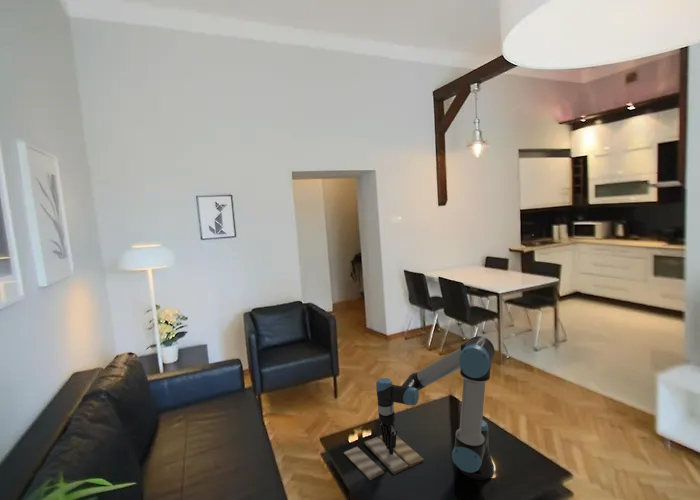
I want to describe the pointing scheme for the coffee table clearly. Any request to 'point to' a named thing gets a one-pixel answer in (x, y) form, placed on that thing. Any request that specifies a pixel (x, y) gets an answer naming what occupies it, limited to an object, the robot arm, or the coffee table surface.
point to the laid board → (406, 453)
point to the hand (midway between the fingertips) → (390, 459)
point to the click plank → (380, 451)
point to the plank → (364, 463)
